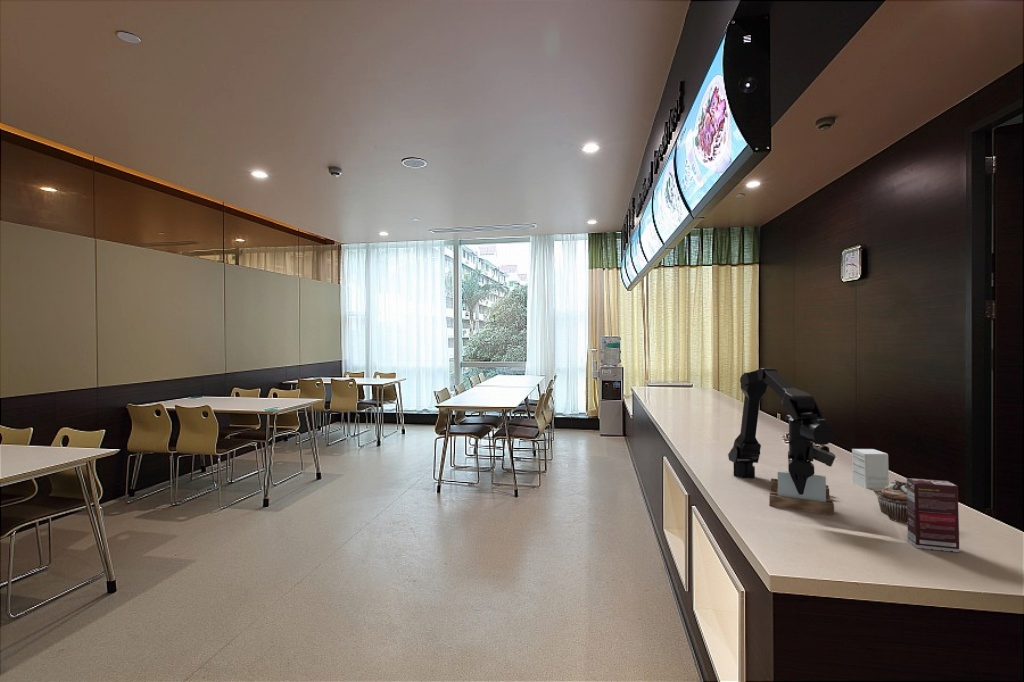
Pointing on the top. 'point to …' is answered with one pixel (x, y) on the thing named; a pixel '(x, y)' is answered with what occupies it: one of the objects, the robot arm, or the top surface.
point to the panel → (812, 491)
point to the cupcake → (894, 501)
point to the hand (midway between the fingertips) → (800, 490)
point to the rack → (800, 501)
